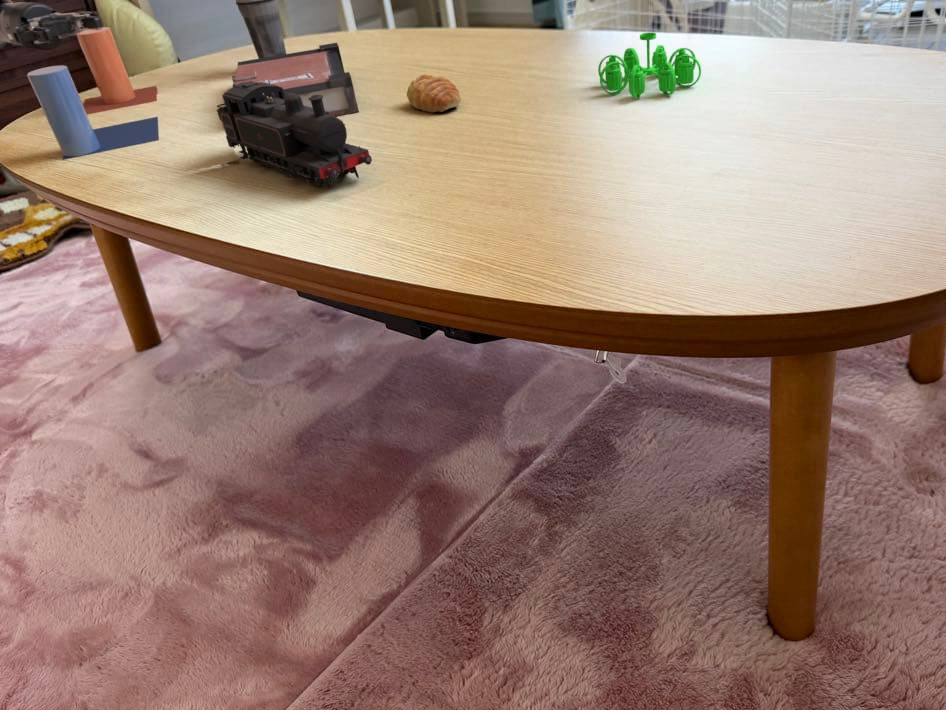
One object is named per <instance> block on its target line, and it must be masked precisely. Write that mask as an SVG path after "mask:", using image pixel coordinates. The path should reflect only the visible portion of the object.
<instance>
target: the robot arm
mask: <svg viewBox="0 0 946 710" xmlns="http://www.w3.org/2000/svg"><path fill="white" fill-rule="evenodd" d="M100 27H104V25H103V23H102V19H101V18H100V15H99V12H98V11H83V10H78V11H77V12H67V13H61V12H57V11H56V10H55V9H54V8H52V7H51V6H49V5H47V4H46V3H42V2H41V3H40V2H31V1H30V2H29V1H28V2H26V1H18V2H13V1H12V0H0V51H2V50H5V49H9V48H11V47H13V46H20V47H22V48H26V49H34V50H41V51H51V50H55V49H57V48H59V47H60V46H61V45H62V43H63V42H64V40H65V39H67V38H68V37H73V36H77V35H76V33H78V32H80V31H84V30H88V29H93V28H100ZM73 30H74V31H73Z"/></svg>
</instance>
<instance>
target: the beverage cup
mask: <svg viewBox="0 0 946 710" xmlns="http://www.w3.org/2000/svg"><path fill="white" fill-rule="evenodd" d="M235 5H237V8H238V11H239V13H240V15H241V17H242V19H243V21H244V23H245V26H246V28H247V32H248V35H249V36H250V39H251V42H252V45H253V47H254V50H255V53H256V55H257V59H260V58H266V57H272V56H278V55H284V54H287V51H286V50H287V49H286V45H285V41H284V40H285V38H284V35H283V29H282V24H281V19H280V13H279V11H280V10H279V1H278V0H235Z"/></svg>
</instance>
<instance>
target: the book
mask: <svg viewBox="0 0 946 710" xmlns="http://www.w3.org/2000/svg"><path fill="white" fill-rule="evenodd" d="M342 59H343V58H342V55H341V51H340V46H339V44H338V42H332V43H326V44H319V45H318V48H314V49H309V50H303V51H296V52H291V53H286V54H284V55H278V56H272V57H266V58H260V59H259V58H255V59H248V60H243V61H238V62H237V67H236V73H235V74H234V75H231V80H232V87H233V86H235V85H237V84H239V83H241V82H250V81H252V82H263V83H268V84H272V85H276V86H279V87H282V88H283V92H284V96H285V97H286V96H287V94H289V93H295V94H297V95H299V96H300V97H301V100H302V102H303V105H304V106H308V107H312V104H311V101H310V100H308V99H309V98H310V97H311V96H313V95H322V96H323V98H322V101H323V105H324V109H325V111H327V112H328V113H329V115H331V116H335V117H338V116H344V115H350V114H356V113H359V112H360V111H359V107H358V101H357V97H356V93H355V87H354V83H353V80H352V76H351V73H350V71H345V69H344V64H343V60H342ZM271 95H272V97H275V95H274V92H272V93H271ZM312 108H313V107H312Z"/></svg>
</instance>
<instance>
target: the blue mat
mask: <svg viewBox="0 0 946 710" xmlns="http://www.w3.org/2000/svg"><path fill="white" fill-rule="evenodd" d="M93 130H94V132H95V134H96V137H97V139H98V142H99V144H100V149H98V150H97V151H95V152H92V153H90V154H86V155H82V156H77V157H65V156H64V155H63V156H62V161H65V160H70V159H73V158H74V159H75V158H81V157H84V156H91V155H94V154H99V153H104V152H108V151H113V150H118V149H125V148H129V147H134V146H137V145H142V144H147V143H152V142H153V143H154V142H158V141H160V134H159V132H160V131H159V117H158V116H154V117H149V118H144V119H139V120H134V121H129V122H124V123H123V122H122V123H118V124H114V125H108V126H105V127H104V126H103V127H99V128H93Z"/></svg>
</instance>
